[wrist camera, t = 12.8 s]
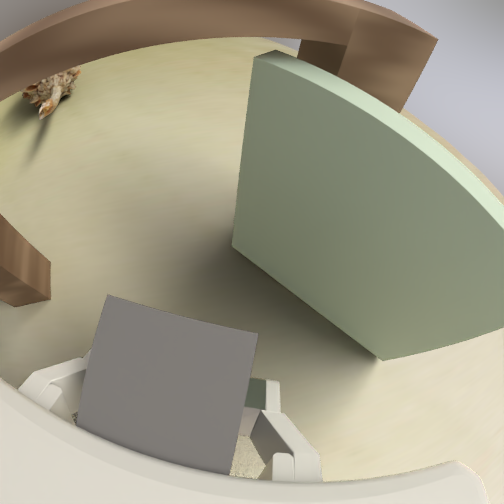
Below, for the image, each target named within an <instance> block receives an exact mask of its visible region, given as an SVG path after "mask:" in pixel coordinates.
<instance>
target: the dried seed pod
mask: <svg viewBox="0 0 504 504" xmlns="http://www.w3.org/2000/svg"><path fill="white" fill-rule="evenodd" d="M80 67H81V66H80V65H79V66H76V67H73V68H70V69H68V70H65V71H63V72H60V73H58V74H55V75H53V76H50V77H48V78H46V79H43V80H41V81H39V82H37V83H35V84H33V85H31V86H28V87H26V88H24V89H22V90H20V91H21V92H23V94H22V96H23V98H28V99H31V100H30V103H34V104H35V106H36V107H37V106H38V105H40V104H41V103H43V104H42V106H41V108H40V109H39V119H42V118H44V117H46V116H47V115H49V114H50V113H52V112H53V110H55V109H56V107H57V105H58V104H59V100H60V99H61V98H62V96H64V95H66V94H68V95H71V93H70V89H75V88H76V86H75V84H74V80H76V79H77V78H78V77H77V76H79V75H80V74H81V71H80V69H79V68H80Z"/></svg>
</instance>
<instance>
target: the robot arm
mask: <svg viewBox="0 0 504 504" xmlns="http://www.w3.org/2000/svg"><path fill="white" fill-rule="evenodd" d="M91 349H92V348H91ZM91 349H90V350H89V351H88V352H87V354H86V355H85V356H84V357H83V358H81V357H79V358H75V359H72V360H69V361H66V362H63V363H60V364H57V365H53V366H50V367H47V368H44V369H40V370H37V371H34V372H33V373H32V374H31V375H30V376H29V377H28V378H27V380H26V381H25V382H24V383H23V384H22V385H21V386H20V388H19V389H18V390H17V389H15V388H14V387H13V386H11V385H10V384H9V383H7V382H6V381H5V380H3V379H2V378H1V377H0V504H490V503H489V499H488V496H487V493H486V490H485V487H484V484H483V482H482V480H481V478H480V477H479V475H478V474H477V473H475V472H474V471H473V470H471V469H470V468H469V467H467V466H466V465H464V464H463V463H461V462H459V461H456V460H453V461H448V462H445V463H442V464H438V465H434V466H431V467H427V468H423V469H419V470H414V471H410V472H405V473H400V474H394V475H388V476H382V477H375V478H367V479H358V480H346V481H328V482H323V480H322V471H321V462H320V454H319V453H318V452H317V451H316V450H315V449H314V447H313V446H312V445H311V444H310V443H309V442H308V441H307V439H306V438H305V437H304V436H303V435H302V434H301V432H300V431H299V430H298V429H297V428H296V426H295V425H294V424H293V423H292V422H291V420H290V419H289V418H288V417H287V416H286V414H285V413H281V410H280V383H279V381H276V380H269V379H262V378H256V377H250V380H249V385H248V390H247V395H246V400H245V404H244V409H243V414H242V419H241V423H240V428H239V433H238V435H244V436H249V437H250V439H251V441H252V443H253V444H254V446H255V448H256V450H257V451H258V453H259V455H260V457H261V458H262V460H263V462H264V463H265V465H266V467H265V468H264V470H263V471H262V473H261V474H260V476H259V477H258V479H252V478H244V477H236V476H230V475H224V474H218V473H213V472H208V471H203V470H198V469H194V468H190V467H185V466H181V465H178V464H174V463H170V462H167V461H163V460H160V459H157V458H154V457H150V456H147V455H144V454H142V453H139V452H136V451H133V450H130V449H128V448H125V447H122V446H120V445H117V444H115V443H112V442H110V441H108V440H105V439H103V438H101V437H99V436H96V435H94V434H92V433H90V432H88V431H86V430H84V429H82V428H80V427H78V426H76V424H75V421H74V419H73V417H72V414H74V413H76V412H78V409H79V403H80V398H81V392H82V387H83V383H84V378H85V373H86V369H87V365H88V361H89V357H90V353H91Z"/></svg>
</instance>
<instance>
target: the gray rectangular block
mask: <svg viewBox="0 0 504 504" xmlns="http://www.w3.org/2000/svg"><path fill="white" fill-rule="evenodd" d="M258 334H259V333H254V332H249V331H244V330H239V329H235V328H230V327H225V326H221V325H217V324H212V323H208V322H204V321H200V320H196V319H192V318H188V317H184V316H180V315H176V314H172V313H169V312H165V311H161V310H158V309H154V308H151V307H147V306H144V305H140V304H137V303H134V302H130V301H127V300H124V299H121V298H118V297H114V296H111V295H107V298H106V301H105V304H104V307H103V310H102V314H101V317H100V320H99V324H98V327H97V330H96V334H95V337H94V341H93V345H92V349H91V353H90V357H89V361H88V365H87V369H86V373H85V378H84V383H83V387H82V392H81V398H80V403H79V409H78V415H77V421H76V426H78V427H80V428H82V429H84V430H86V431H88V432H90V433H92V434H94V435H96V436H99V437H101V438H103V439H105V440H108V441H110V442H112V443H115V444H117V445H120V446H122V447H125V448H128V449H130V450H133V451H136V452H139V453H142V454H144V455H147V456H150V457H154V458H157V459H160V460H163V461H167V462H170V463H174V464H178V465H181V466H185V467H190V468H194V469H198V470H203V471H208V472H213V473H218V474H224V475H229V473H230V469H231V465H232V460H233V456H234V451H235V447H236V442H237V437H238V433H239V428H240V423H241V419H242V414H243V409H244V404H245V400H246V395H247V390H248V385H249V380H250V375H251V370H252V365H253V360H254V355H255V350H256V345H257V339H258Z"/></svg>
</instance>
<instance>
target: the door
mask: <svg viewBox="0 0 504 504" xmlns="http://www.w3.org/2000/svg"><path fill="white" fill-rule="evenodd" d="M232 247H234V248H235V249H236V250H237V251H239V252H240V253H241V254H243V255H244V256H245V257H247V258H248V259H249V260H250V261H252V262H253V263H254V264H256V265H257V266H258V267H260V268H261V269H262V270H263V271H265V272H266V273H267V274H269V275H270V276H271V277H273V278H274V279H275V280H276V281H278V282H279V283H280V284H282V285H283V286H284V287H286V288H287V289H288V290H290V291H291V292H292V293H293V294H295V295H296V296H297V297H299V298H300V299H301V300H303V301H304V302H305V303H307V304H308V305H309V306H310V307H312V308H313V309H314V310H316V311H317V312H318V313H320V314H321V315H322V316H324V317H325V318H326V319H328V320H329V321H330V322H332V323H333V324H334V325H335V326H337V327H338V328H339V329H341V330H342V331H343V332H345V333H346V334H347V335H349V336H350V337H351V338H353V339H354V340H355V341H357V342H358V343H359V344H361V345H362V346H363V347H365V348H366V349H367V350H369V351H370V352H371V353H373V354H374V355H375V356H377V357H378V358H379V359H381V360H382V361H385V360H390V359H395V358H400V357H405V356H409V355H414V354H418V353H422V352H426V351H430V350H434V349H438V348H442V347H445V346H449V345H452V344H456V343H459V342H462V341H466V340H469V339H472V338H475V337H478V336H481V335H484V334H487V333H489V332H492V331H495V330H498V329H500V328H503V327H504V206H503V205H502V204H501V202H500V201H499V200H498V199H497V198H496V197H495V196H494V195H493V194H492V192H491V191H490V190H489V189H488V188H487V187H486V186H485V185H484V184H483V183H482V182H481V181H480V180H479V179H478V178H477V177H476V176H475V175H474V174H473V173H472V172H471V171H470V170H469V169H468V168H467V167H466V166H465V165H463V164H462V163H461V162H460V161H459V160H458V159H457V158H456V157H455V156H453V155H452V154H451V153H450V152H449V151H448V150H447V149H445V148H444V147H443V146H442V145H441V144H439V143H438V142H437V141H436V140H434V139H433V138H432V137H431V136H429V135H428V134H427V133H425V132H424V131H423V130H422V129H420V128H419V127H417V126H416V125H415V124H413V123H412V122H411V121H409V120H408V119H406V118H405V117H404V116H402V115H401V114H399V113H398V112H396V111H395V110H393V109H392V108H390V107H389V106H387V105H386V104H384V103H382V102H381V101H379V100H378V99H376V98H374V97H373V96H371V95H369V94H368V93H366V92H364V91H362V90H361V89H359V88H357V87H355V86H354V85H352V84H350V83H348V82H346V81H344V80H342V79H341V78H339V77H337V76H335V75H333V74H331V73H329V72H327V71H325V70H322V69H320V68H318V67H316V66H314V65H312V64H309V63H307V62H305V61H303V60H300V59H298V58H295V57H293V56H291V55H288V54H286V53H283V52H280V51H278V50H273V51H270V52H267V53H264V54H261V55H259V56H256V57H254V61H253V68H252V75H251V83H250V90H249V98H248V106H247V113H246V121H245V130H244V138H243V146H242V155H241V163H240V172H239V181H238V190H237V200H236V209H235V219H234V229H233V239H232Z"/></svg>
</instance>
